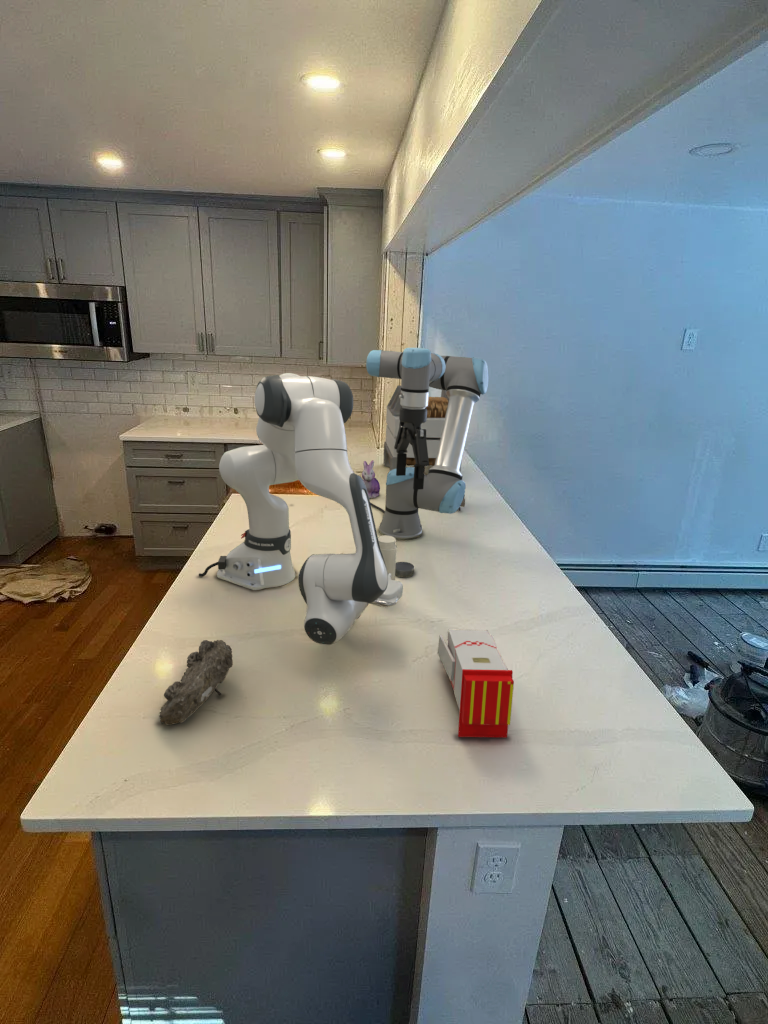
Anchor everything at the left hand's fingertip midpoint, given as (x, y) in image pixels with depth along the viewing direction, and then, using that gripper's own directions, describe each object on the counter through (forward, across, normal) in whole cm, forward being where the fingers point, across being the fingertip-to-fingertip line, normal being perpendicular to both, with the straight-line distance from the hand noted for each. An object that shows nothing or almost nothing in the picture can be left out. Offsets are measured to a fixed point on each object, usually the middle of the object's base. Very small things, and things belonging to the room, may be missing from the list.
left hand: (370, 572), depth 140 cm
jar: (+11, 0, +13) cm, 17 cm away
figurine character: (+96, -2, +14) cm, 97 cm away
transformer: (+137, +25, +15) cm, 140 cm away
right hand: (+29, 0, -15) cm, 33 cm away
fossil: (-41, +20, +13) cm, 47 cm away
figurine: (+94, +34, +15) cm, 101 cm away
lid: (+29, 0, +12) cm, 31 cm away
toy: (-20, -30, +12) cm, 38 cm away
